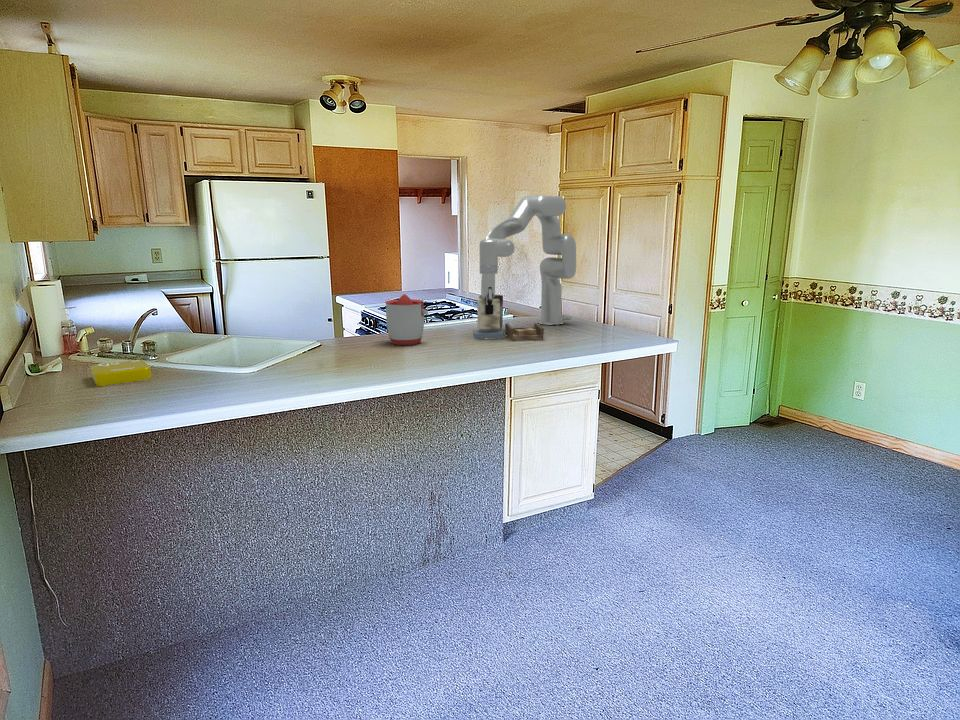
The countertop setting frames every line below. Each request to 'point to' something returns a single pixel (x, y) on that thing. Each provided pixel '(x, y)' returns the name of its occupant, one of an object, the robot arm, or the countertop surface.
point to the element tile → (120, 372)
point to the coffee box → (500, 310)
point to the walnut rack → (539, 335)
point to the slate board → (488, 334)
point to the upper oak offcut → (525, 332)
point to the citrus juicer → (405, 320)
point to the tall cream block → (488, 315)
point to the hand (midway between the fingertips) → (488, 312)
